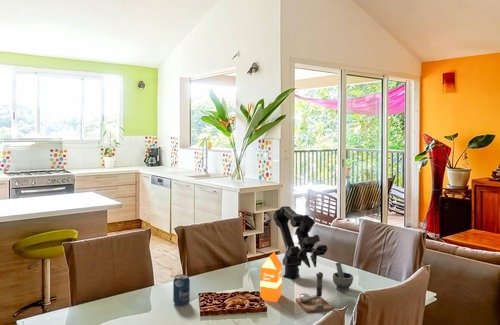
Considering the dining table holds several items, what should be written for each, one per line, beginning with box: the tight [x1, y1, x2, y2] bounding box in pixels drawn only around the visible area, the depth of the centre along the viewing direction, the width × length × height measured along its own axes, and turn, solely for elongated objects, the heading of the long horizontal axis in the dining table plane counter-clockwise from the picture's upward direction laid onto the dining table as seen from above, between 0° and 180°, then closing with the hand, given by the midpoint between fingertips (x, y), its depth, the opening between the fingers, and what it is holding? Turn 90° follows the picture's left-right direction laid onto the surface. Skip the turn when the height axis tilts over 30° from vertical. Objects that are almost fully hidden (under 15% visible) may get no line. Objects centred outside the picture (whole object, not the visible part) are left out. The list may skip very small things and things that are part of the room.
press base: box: [295, 296, 334, 314], centre depth 175 cm, size 13×12×5 cm
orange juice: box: [259, 251, 283, 303], centre depth 184 cm, size 8×9×20 cm
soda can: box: [172, 273, 191, 307], centre depth 175 cm, size 7×7×12 cm
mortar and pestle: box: [332, 261, 354, 293], centre depth 196 cm, size 11×9×12 cm
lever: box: [299, 271, 324, 303], centre depth 178 cm, size 4×12×12 cm, turn 118°
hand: (312, 267), depth 187 cm, fingers open, 3 cm apart
